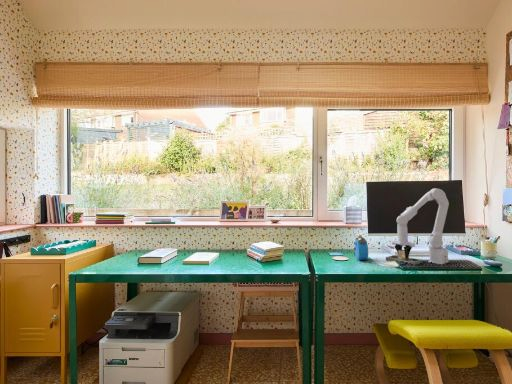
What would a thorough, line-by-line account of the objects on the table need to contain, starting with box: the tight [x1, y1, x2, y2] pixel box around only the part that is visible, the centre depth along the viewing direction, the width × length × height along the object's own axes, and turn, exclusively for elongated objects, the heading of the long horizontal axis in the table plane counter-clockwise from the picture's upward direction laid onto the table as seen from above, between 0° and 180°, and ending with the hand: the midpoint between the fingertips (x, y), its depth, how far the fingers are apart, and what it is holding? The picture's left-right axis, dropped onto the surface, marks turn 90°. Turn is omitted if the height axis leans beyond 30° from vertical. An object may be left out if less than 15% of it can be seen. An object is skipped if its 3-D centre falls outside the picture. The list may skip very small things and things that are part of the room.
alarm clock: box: [354, 235, 369, 261], centre depth 229 cm, size 13×6×15 cm, turn 176°
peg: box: [398, 249, 410, 260], centre depth 217 cm, size 4×4×7 cm
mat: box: [383, 261, 400, 268], centre depth 212 cm, size 9×9×1 cm
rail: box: [385, 254, 424, 265], centre depth 217 cm, size 20×8×2 cm, turn 33°
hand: (403, 257), depth 217 cm, fingers closed on peg, 4 cm apart
